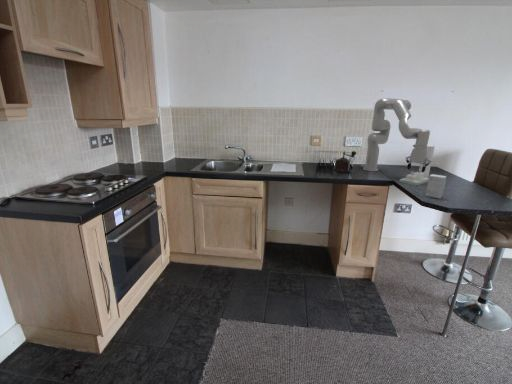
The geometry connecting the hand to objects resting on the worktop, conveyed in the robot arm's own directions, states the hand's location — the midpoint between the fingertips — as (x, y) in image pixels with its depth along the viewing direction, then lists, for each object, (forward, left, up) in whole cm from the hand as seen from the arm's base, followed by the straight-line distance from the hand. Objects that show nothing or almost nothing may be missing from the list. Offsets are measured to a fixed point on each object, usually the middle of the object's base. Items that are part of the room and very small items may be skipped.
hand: (415, 170), depth 207 cm
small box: (+24, -30, -8) cm, 39 cm away
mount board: (+1, 0, -8) cm, 8 cm away
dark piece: (-50, -12, -9) cm, 53 cm away
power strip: (0, 0, -6) cm, 6 cm away
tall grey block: (0, +19, -8) cm, 21 cm away
